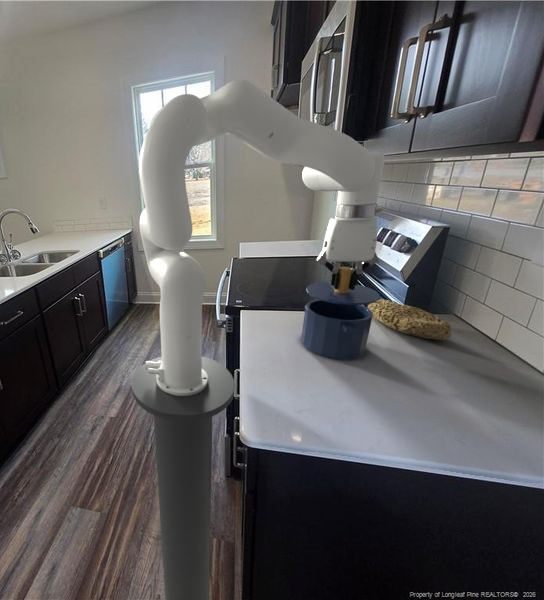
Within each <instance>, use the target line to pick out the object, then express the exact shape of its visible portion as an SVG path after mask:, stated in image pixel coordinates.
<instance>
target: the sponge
mask: <svg viewBox="0 0 544 600" xmlns="http://www.w3.org/2000/svg"><path fill="white" fill-rule="evenodd" d="M367 308H368V309H370V310H371V311H372V312H373V316H372V319H373V318H374V320H376V321H379V322H380V323H381V324H383V325H385V326H387V327H389V329H393V330H395V331H397V332H401V333H402V334H405V335H409V336H415V337H419V338H423V339H426V340H438V341H443V340H447V339H449V338H451V337H452V327H451V325H450V323H448V322H447V321H446V320H444V319H443V318H440V317H439V316H437V315H434V314H433V313H430V312H429V311H426V310H423V309H422V308H419V307H414V306H411V305H408V304H400V303H398V302H397V301H396V300H389V299H384V298H379V300H378V301H376V302H374V303H371V304H367Z"/></svg>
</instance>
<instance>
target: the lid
mask: <svg viewBox="0 0 544 600" xmlns="http://www.w3.org/2000/svg"><path fill="white" fill-rule="evenodd" d="M352 270H353V269H352V267H351V266H350V267H349V266H339V270H338V274H339V275H340V277H339V283H338V289H337V290H334V289H333V288H332V287H331V285H329V281H320V282H315V283H311V284H309V285H307V287H306V294H307V295H309V296H310V297H312V298H314V299H315V300H322V301H326V302H330V303H336V304H344V305H362V306H366V305H369V304H371V303H374V302H376V301H378V300H379V299H381V298H380V294H379V292H378V291H376V290H375V289H372V288H370V287H367V286H366V285H365V286H364V285H361V284H357V285H355V288H354V290H351V289H350V288H349V287H350V281H351V275H352Z"/></svg>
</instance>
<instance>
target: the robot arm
mask: <svg viewBox="0 0 544 600" xmlns="http://www.w3.org/2000/svg"><path fill="white" fill-rule="evenodd" d="M228 135H230V136H232V137H234V138H235V139H237V140H239V141H240V142H242V143H243V144H244V145H247V146H248V147H249V148H251V149H253V150H254V151H256V152H257V153H259V154H260V155H261V156H263V157H265V158H266V159H268V160H271V161H273V162H277V163H281V164H287V165H296V166H301V167H304V168H303V170H302V175H301V176H302V181H303V184H304V185H305V186H306V188H308V189H309V190H312V191H316V192H338V195H337V201H336V207H335V215H334V217H331V218H330V219H329V222H328V224H327V228H326V231H325V235H324V240H323V244H322V250H321V252H320V254H319V255H318V256H317V258H316V260H315V261H316V262H317V263H318V264H319V265H321V266H323V267H326V268H327V270H328V271H329V273H330V274H329V280H328V282H329V285H331V287H332V288H333V289H334V290H337V289H338V283H339V277H340V275H339V274H338V270H339V267H341V262H343V263H344V262H345V263H347V262H350V263H351V268H352V269H353V270H352V275H351V281H350V287H349V288H350V289H351V290H354V288H355V285H358V281H359V277H360V275H361V274H362V272H363V271H364V270H366V269H367V268H369V267H370V266H373V265H375V264H377V263H379V262H380V260H379V257H378V255H377V252H376V248H377V239H378V218H377V217H375V216H376V214H377V213H381V212H383V208H384V207H383V205H379V204H378V197H379V190H380V186H381V181H382V176H383V171H384V166H385V159H386V157H385V155H384V153H383V152H380V151H369V150H368V149H367V148H366V147H364V146H363V145H362V144H360V143H359V142H358V141H357V140H355V139H354V138H353V137H352V136H350V135H348V134H346V133H344V132H342V131H339V130H337V129H334V128H331V127H328V126H325V125H322V124H319V123H317V122H314V121H311V120H308V119H304V118H302V117H299V116H297V115H296V114H295V113H293V112H292V111H291V110H290V109H288V108H286V107H285V106H284V105H282V104H281V103H280V102H278V101H277V100H275V98H273V97H271V96H270V95H269V94H267V93H266V92H265V91H264V90H262V89H261V88H260V87H258V86H257V85H255V84H254V83H252V82H250V81H249V80H245V79H234V80H232V81H230V82H228V83H226V84H224V85H223V86H222V87H220V88H218V89H217V90H215V91H213V92H212V93H210V94H208V95H204V96H203V97H198V96H197V95H194V94H191V93H190V94H189V93H183V94H180V95H176V96H175V97H173V98H171V99H170V100H169V101H168V102H167V103H165V105H163V106H162V108H160V109H159V110H157V112H156V113H155V114H154V115H153V116H152V118H151V120H150V122H149V127H148V129H147V132H146V134H145V135H144V138H143V142H142V144H141V148H140V153H139V162H138V163H139V165H138V167H139V179H140V180H139V181H140V186H141V191H142V198H143V203H144V204H143V205H144V208H143V210H142V211H141V212H140V213H141V214H140V217H139V223H138V224H139V233H140V238H141V242H142V247H143V251H144V255H145V260H146V265H147V267H148V271H149V273H150V276H151V278H152V279H153V280H154V282H155V283H156V284H157V285H158V287H159V291H160V301H159V302H160V303H159V329H160V330H159V331H160V346H161V347H160V349H161V351H160V352H161V353H160V354H161V356H162V361H158V362H151V361H150V360H146V361H145V362H144V364H145V368H146V369H148V374H157V377H156V379H157V384H158V386H159V387H160V388H161V389H162V390H163V391H165V392H167V393H169V394H172V395H176V396H189V395H194V394H197V393H199V392H201V391H202V390H204V389H205V388H206V386H207V384H208V375H207V373H206V372H205V371H204V370H203V369H202V356H203V355H202V354H203V301H204V295H205V289H206V280H207V279H206V274H205V271H204V268H203V267H202V265H201V264H200V262H199V261H198V260H197V259H196V258H194V257H192V256H191V255H189V254H187V253H186V252H185V250H184V247H185V246H187V245H188V244H189V242H190V240H191V238H192V236H193V221H192V215H191V211H190V204H189V198H188V192H187V191H188V190H187V185H186V184H187V183H186V174H185V173H186V163H187V160H188V157H189V154H190V152H191V150H192V149H193V147H197V146H199V145H202V144H205V143H209V142H212V141H214V140H217V139H219V138H223V137H225V136H228Z"/></svg>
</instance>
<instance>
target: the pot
mask: <svg viewBox="0 0 544 600" xmlns="http://www.w3.org/2000/svg"><path fill="white" fill-rule="evenodd" d="M372 316H373V312H372V311H371V310H370V309H368V306H366V305H344V304H336V303H330V302H326V301H322V300H319V299H313V300H310V301H309V302H307V303H306V304H305V306H304V314H303V322H302V328H301V329H302V330H301V339H300V340H301V345H302V346H303V347H304V349H306V350H307V351H309V352H311V353H313V354H314V355H318V356H321V357H322V358H327V359H333V360H337V361H338V360H339V361H350V360H351V361H352V360H357V359H359V358H362V357H363V356H364V354H365V353H366V349H367V344H368V340H369V334H370V331H371V330H370V329H371V325H372V322H373V317H372Z"/></svg>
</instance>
